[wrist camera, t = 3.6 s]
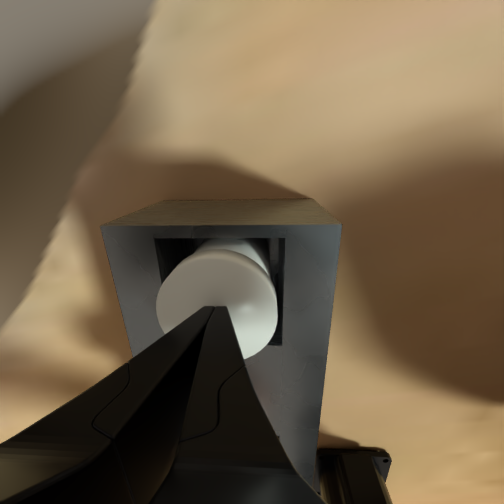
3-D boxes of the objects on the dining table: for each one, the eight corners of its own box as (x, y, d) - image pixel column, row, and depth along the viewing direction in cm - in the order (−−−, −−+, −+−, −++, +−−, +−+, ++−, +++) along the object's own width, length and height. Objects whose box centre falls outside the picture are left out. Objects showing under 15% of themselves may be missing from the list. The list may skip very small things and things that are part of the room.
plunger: (273, 291, 15) (276, 364, 9) (201, 290, 15) (165, 361, 10) (273, 219, 13) (278, 259, 8) (193, 220, 13) (146, 259, 8)
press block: (298, 404, 20) (311, 497, 15) (193, 400, 21) (166, 488, 15) (312, 198, 14) (341, 224, 9) (162, 200, 15) (99, 225, 9)
